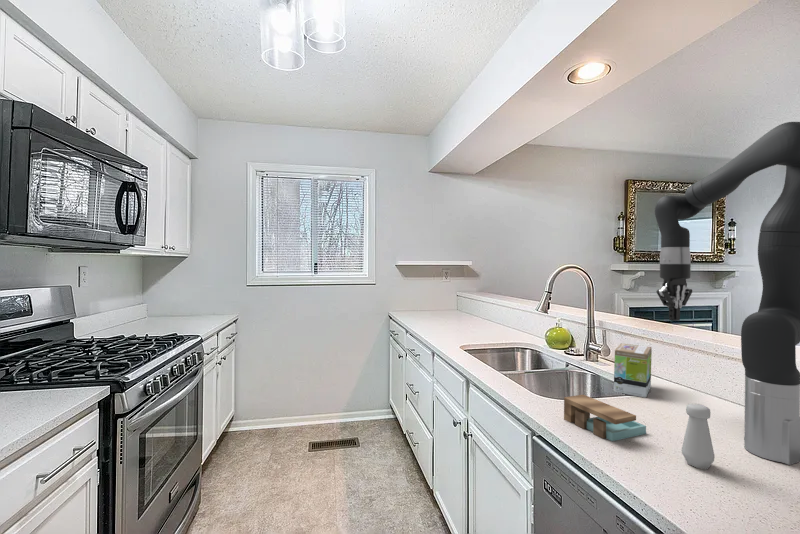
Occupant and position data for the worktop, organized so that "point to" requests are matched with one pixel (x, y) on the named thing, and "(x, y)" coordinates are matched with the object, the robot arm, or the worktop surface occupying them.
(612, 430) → the tray
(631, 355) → the tea box
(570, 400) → the shelf
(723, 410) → the worktop surface
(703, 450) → the salt shaker
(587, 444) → the worktop surface
